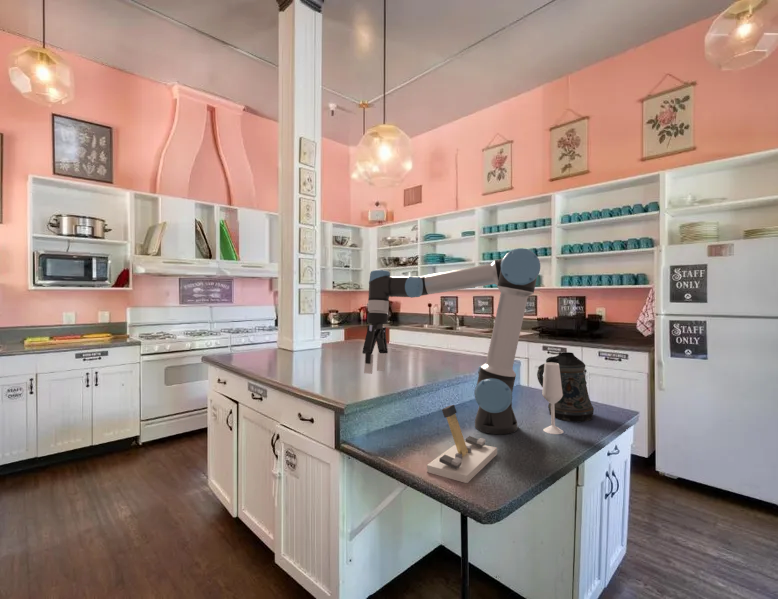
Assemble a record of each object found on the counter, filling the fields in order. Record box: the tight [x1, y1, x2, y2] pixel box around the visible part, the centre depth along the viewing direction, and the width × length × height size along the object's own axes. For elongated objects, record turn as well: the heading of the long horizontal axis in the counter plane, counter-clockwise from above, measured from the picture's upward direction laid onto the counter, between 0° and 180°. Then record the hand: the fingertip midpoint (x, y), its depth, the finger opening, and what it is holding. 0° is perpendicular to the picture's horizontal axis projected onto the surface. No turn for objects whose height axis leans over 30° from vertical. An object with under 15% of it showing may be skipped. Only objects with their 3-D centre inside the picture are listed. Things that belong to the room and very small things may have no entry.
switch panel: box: [426, 442, 498, 484], centre depth 113 cm, size 22×12×4 cm, turn 144°
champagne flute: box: [541, 362, 564, 435], centre depth 137 cm, size 7×7×24 cm
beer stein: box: [536, 351, 595, 423], centre depth 154 cm, size 16×19×25 cm
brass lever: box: [441, 404, 468, 457], centre depth 114 cm, size 4×2×14 cm, turn 144°
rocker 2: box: [464, 435, 486, 448], centre depth 120 cm, size 3×5×2 cm, turn 54°
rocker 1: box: [439, 455, 462, 469], centre depth 106 cm, size 3×5×2 cm, turn 54°
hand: (374, 372), depth 138 cm, fingers open, 13 cm apart
